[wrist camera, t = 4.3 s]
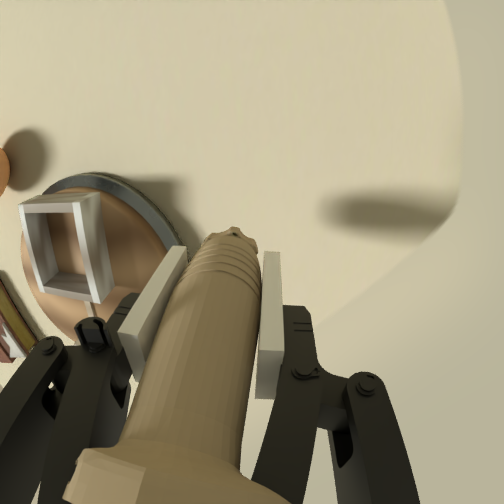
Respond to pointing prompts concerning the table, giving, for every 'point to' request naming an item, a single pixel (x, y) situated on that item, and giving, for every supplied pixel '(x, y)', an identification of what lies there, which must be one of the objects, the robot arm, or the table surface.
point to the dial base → (129, 197)
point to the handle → (189, 393)
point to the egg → (4, 171)
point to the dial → (85, 253)
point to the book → (13, 331)
